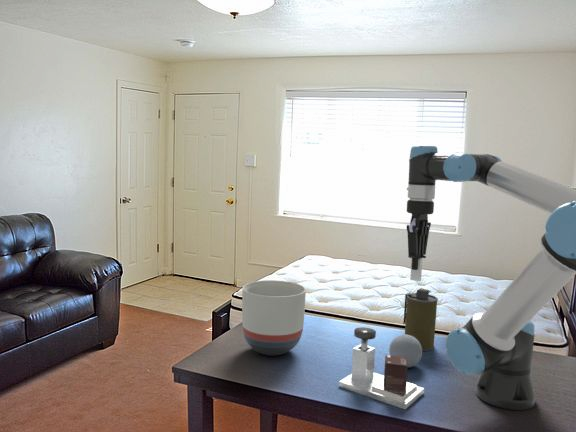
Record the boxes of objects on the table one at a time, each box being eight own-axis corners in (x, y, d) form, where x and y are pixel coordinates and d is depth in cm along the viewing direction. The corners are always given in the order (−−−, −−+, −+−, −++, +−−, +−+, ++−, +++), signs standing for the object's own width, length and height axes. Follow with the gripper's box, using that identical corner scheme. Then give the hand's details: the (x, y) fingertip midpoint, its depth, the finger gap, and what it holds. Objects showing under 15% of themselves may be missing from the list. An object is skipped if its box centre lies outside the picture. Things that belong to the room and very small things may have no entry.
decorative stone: (424, 364, 161) (426, 333, 160) (416, 375, 153) (418, 343, 152) (393, 357, 166) (395, 327, 165) (384, 368, 157) (386, 336, 156)
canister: (438, 344, 179) (442, 289, 177) (429, 353, 170) (433, 295, 168) (408, 337, 185) (411, 284, 183) (397, 346, 176) (401, 289, 174)
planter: (307, 343, 175) (309, 283, 173) (297, 367, 155) (300, 299, 153) (249, 338, 179) (251, 278, 176) (233, 360, 159) (235, 293, 156)
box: (406, 392, 136) (408, 365, 135) (383, 389, 137) (384, 363, 136) (405, 382, 142) (407, 357, 141) (383, 379, 143) (385, 354, 142)
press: (423, 393, 141) (426, 357, 140) (405, 409, 132) (408, 370, 130) (360, 372, 153) (362, 339, 152) (339, 386, 144) (340, 350, 142)
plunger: (376, 375, 146) (379, 330, 145) (366, 382, 142) (369, 336, 140) (358, 370, 150) (360, 325, 148) (348, 376, 145) (350, 331, 144)
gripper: (416, 197, 154) (412, 274, 157) (399, 199, 144) (394, 281, 146) (441, 199, 150) (436, 278, 152) (424, 201, 139) (419, 286, 142)
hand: (415, 279), depth 149 cm, fingers closed
